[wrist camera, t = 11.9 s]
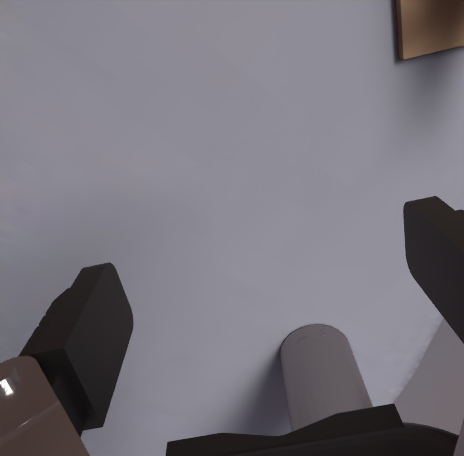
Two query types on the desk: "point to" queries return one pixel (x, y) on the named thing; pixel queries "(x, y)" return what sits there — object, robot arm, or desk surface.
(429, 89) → the desk surface
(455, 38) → the post base
